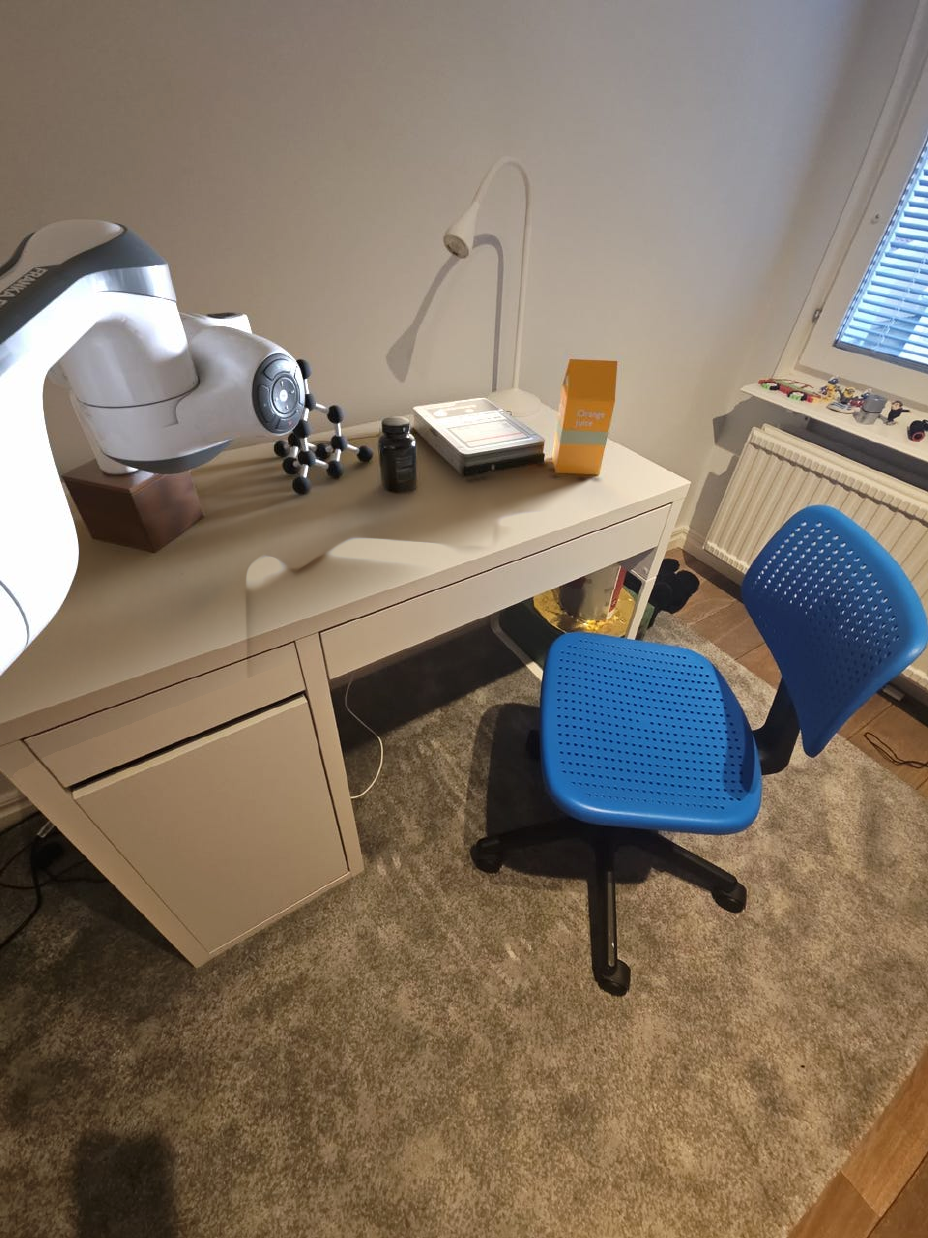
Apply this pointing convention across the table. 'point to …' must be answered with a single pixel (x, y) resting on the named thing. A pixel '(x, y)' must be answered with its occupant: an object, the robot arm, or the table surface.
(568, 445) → the orange juice
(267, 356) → the robot arm
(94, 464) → the lid
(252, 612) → the table surface
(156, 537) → the box
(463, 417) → the hard drive
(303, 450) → the molecular model
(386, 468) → the supplement bottle
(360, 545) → the table surface
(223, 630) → the table surface
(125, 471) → the can
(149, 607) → the table surface
